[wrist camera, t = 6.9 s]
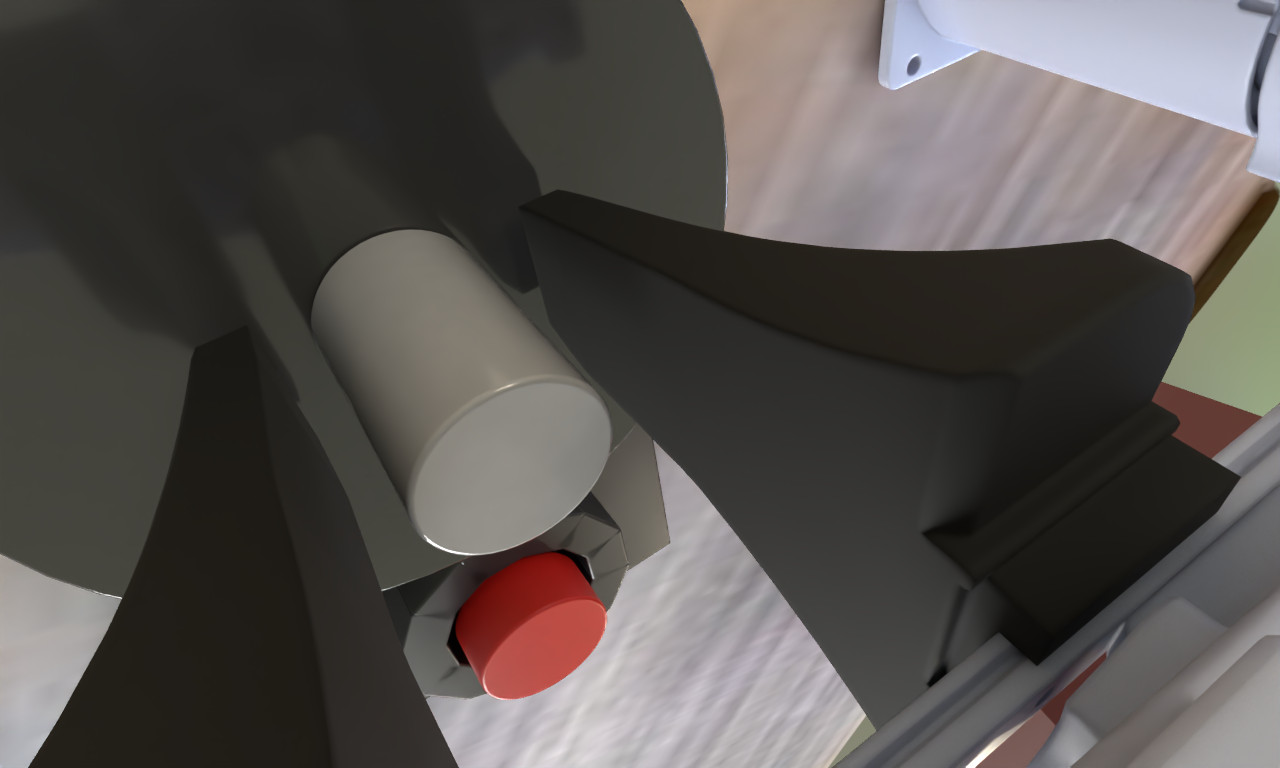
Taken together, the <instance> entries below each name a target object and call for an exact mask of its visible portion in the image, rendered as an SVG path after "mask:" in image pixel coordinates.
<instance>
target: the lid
mask: <svg viewBox="0 0 1280 768" xmlns="http://www.w3.org/2000/svg"><path fill="white" fill-rule="evenodd" d="M557 189H558V190H564V191H569V192H573V193H577V194H581V195H585V196H589V197H592V198H596V199H600V200H603V201H607V202H610V203H614V204H617V205H621V206H624V207H628V208H631V209H635V210H639V211H642V212H646V213H650V214H653V215H657V216H661V217H665V218H668V219H672V220H676V221H680V222H684V223H688V224H693V225H697V226H701V227H705V228H710V229H715V230H720V231H724V225H725V217H726V208H727V200H728V154H727V145H726V136H725V126H724V117H723V112H722V108H721V104H720V100H719V95H718V91H717V87H716V83H715V78H714V74H713V71H712V68H711V66H710V63H709V60H708V58H707V55H706V52H705V50H704V47H703V44H702V42H701V39H700V36H699V34H698V31H697V29H696V27H695V25H694V23H693V21H692V19H691V18H690V16H689V14H688V12H687V10H686V8H685V7H684V5H683V3H682V1H681V0H0V554H1V555H3V556H6V557H8V558H10V559H12V560H14V561H16V562H18V563H20V564H22V565H24V566H26V567H28V568H30V569H32V570H34V571H37V572H39V573H41V574H43V575H45V576H47V577H50V578H53V579H56V580H59V581H62V582H64V583H67V584H70V585H73V586H76V587H79V588H82V589H85V590H88V591H91V592H94V593H97V594H100V595H105V596H109V597H114V598H118V599H122V598H123V595H124V593H125V591H126V589H127V587H128V584H129V582H130V579H131V577H132V575H133V572H134V570H135V567H136V565H137V562H138V560H139V557H140V555H141V552H142V549H143V547H144V544H145V541H146V539H147V536H148V533H149V530H150V527H151V524H152V521H153V517H154V514H155V511H156V508H157V505H158V502H159V499H160V496H161V493H162V490H163V487H164V484H165V480H166V477H167V473H168V470H169V466H170V462H171V457H172V453H173V449H174V445H175V441H176V437H177V433H178V429H179V425H180V420H181V415H182V410H183V405H184V400H185V394H186V389H187V382H188V376H189V369H190V362H191V358H192V355H193V353H194V350H195V348H196V347H198V346H200V345H203V344H205V343H207V342H209V341H212V340H214V339H216V338H219V337H221V336H223V335H225V334H228V333H230V332H232V331H235V330H237V329H239V328H241V327H244V326H246V325H247V326H248V328H249V329H250V331H251V332H252V334H253V336H254V337H255V339H256V340H257V342H258V343H259V345H260V347H261V348H262V350H263V351H264V353H265V355H266V356H267V358H268V359H269V361H270V362H271V364H272V366H273V367H274V369H275V370H276V372H277V373H278V375H279V377H280V378H281V380H282V381H283V383H284V385H285V386H286V388H287V389H288V391H289V392H290V394H291V396H292V397H293V399H294V400H295V402H296V404H297V405H298V407H299V408H300V410H301V411H302V413H303V415H304V416H305V418H306V419H307V421H308V422H309V424H310V426H311V427H312V429H313V430H314V432H315V434H316V435H317V437H318V438H319V440H320V442H321V444H322V446H323V448H324V450H325V452H326V454H327V456H328V458H329V460H330V462H331V464H332V466H333V468H334V470H335V472H336V474H337V476H338V478H339V480H340V482H341V484H342V486H343V488H344V490H345V492H346V494H347V496H348V498H349V501H350V503H351V506H352V509H353V512H354V515H355V517H356V520H357V523H358V526H359V529H360V531H361V534H362V537H363V540H364V543H365V546H366V548H367V551H368V554H369V557H370V560H371V563H372V565H373V568H374V571H375V574H376V577H377V580H378V582H379V585H380V588H381V591H383V590H387V589H390V588H393V587H396V586H399V585H402V584H404V583H407V582H410V581H413V580H416V579H419V578H422V577H425V576H427V575H430V574H432V573H435V572H437V571H439V570H441V569H444V568H446V567H448V566H451V565H453V564H455V563H457V562H460V561H462V560H464V559H467V558H468V557H470V556H472V555H484V554H491V553H496V552H500V551H504V550H507V549H510V548H513V547H516V546H518V545H521V544H523V543H525V542H527V541H530V540H532V539H533V538H535V537H537V536H539V535H541V534H542V533H544V532H546V531H547V530H549V529H550V528H552V527H553V526H554V525H556V524H557V523H558V522H560V521H561V520H562V519H564V518H565V517H566V516H567V515H568V514H569V513H570V512H571V511H573V510H574V509H575V508H576V507H577V506H578V504H579V503H580V502H581V501H582V500H583V499H584V498H585V497H586V495H587V494H588V493H589V492H590V490H591V489H592V487H593V486H594V485H595V483H596V482H597V480H598V478H599V476H600V475H601V473H602V471H603V469H604V467H605V464H606V462H607V460H608V456H609V455H610V454H611V453H612V452H613V451H614V450H615V449H616V448H617V447H618V446H619V444H620V443H621V442H622V441H623V440H624V439H625V438H626V436H627V435H628V434H629V433H630V432H631V430H632V429H633V428H634V427H635V425H636V424H637V423H636V422H635V421H634V420H633V419H632V418H631V417H630V416H629V415H628V414H627V413H626V412H625V411H624V410H623V409H622V408H621V407H620V406H619V405H618V404H617V403H616V402H615V401H614V400H613V399H612V398H611V397H610V396H609V395H608V394H607V393H606V392H605V391H604V390H603V389H602V388H601V387H600V386H599V385H598V384H597V383H596V382H595V381H594V380H593V378H592V377H591V376H590V375H589V374H588V373H587V372H586V371H585V370H584V369H583V367H582V366H581V365H580V363H579V362H578V361H577V359H576V358H575V357H574V356H573V354H572V353H571V352H570V350H569V349H568V348H567V346H566V345H565V343H564V342H563V341H562V339H561V338H560V337H559V335H558V334H557V332H556V331H555V330H554V328H553V327H552V326H551V324H550V323H549V319H548V316H547V312H546V308H545V305H544V301H543V297H542V293H541V290H540V286H539V282H538V279H537V275H536V271H535V267H534V264H533V260H532V256H531V253H530V249H529V245H528V242H527V238H526V234H525V230H524V227H523V223H522V219H521V216H520V212H519V208H518V206H520V205H523V204H525V203H527V202H530V201H532V200H534V199H536V198H539V197H541V196H543V195H546V194H548V193H550V192H553V191H555V190H557Z"/></svg>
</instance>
